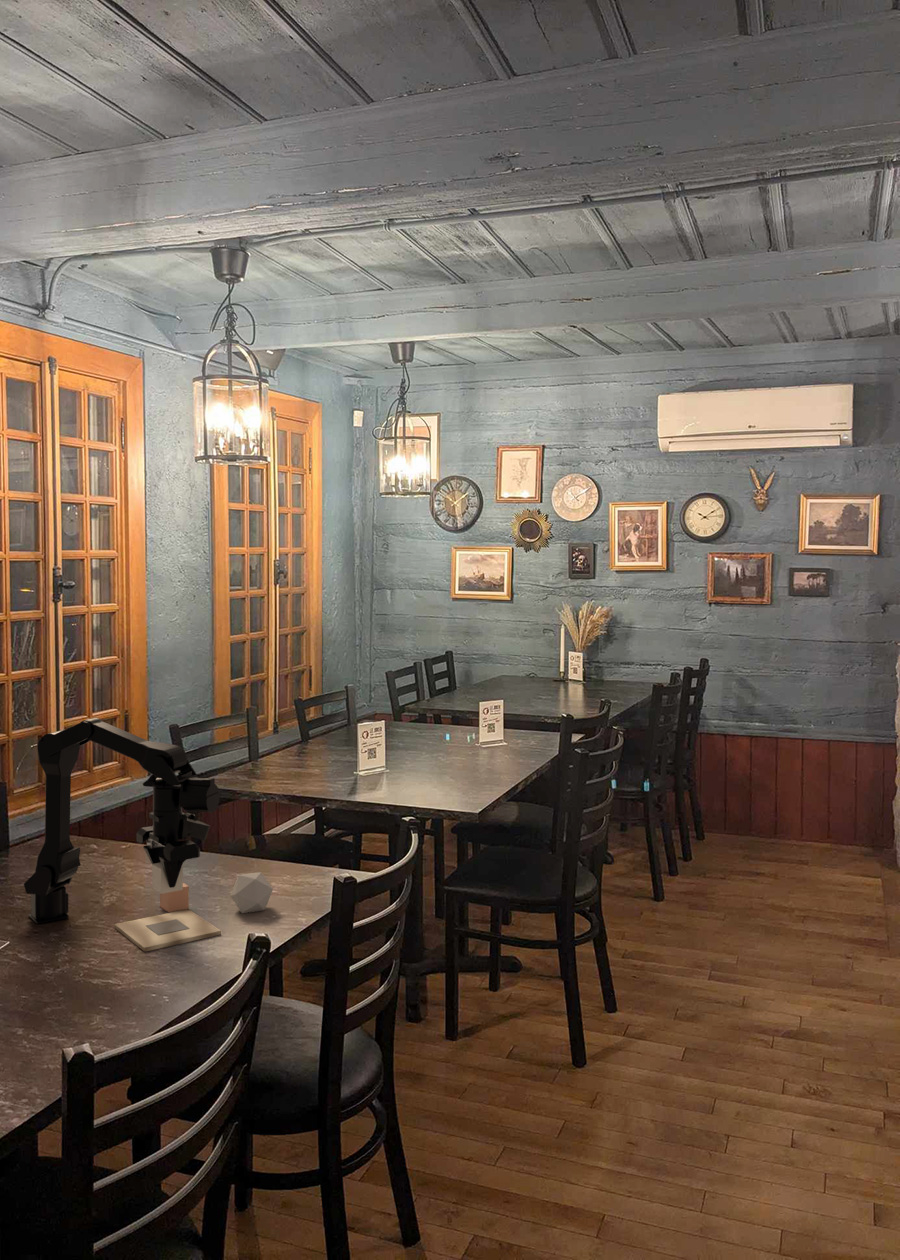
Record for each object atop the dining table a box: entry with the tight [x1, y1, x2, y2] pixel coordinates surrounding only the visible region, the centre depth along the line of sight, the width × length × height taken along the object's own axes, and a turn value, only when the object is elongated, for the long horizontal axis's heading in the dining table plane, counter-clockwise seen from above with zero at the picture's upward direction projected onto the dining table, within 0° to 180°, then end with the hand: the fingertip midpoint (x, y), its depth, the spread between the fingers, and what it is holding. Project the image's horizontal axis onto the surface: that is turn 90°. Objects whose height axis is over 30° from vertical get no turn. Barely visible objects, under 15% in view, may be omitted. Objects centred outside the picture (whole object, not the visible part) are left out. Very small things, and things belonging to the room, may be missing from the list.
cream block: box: [151, 862, 184, 894], centre depth 206 cm, size 5×5×5 cm
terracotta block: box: [159, 882, 190, 913], centre depth 221 cm, size 5×5×5 cm
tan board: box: [114, 908, 222, 952], centre depth 206 cm, size 16×16×1 cm
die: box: [229, 871, 274, 914], centre depth 220 cm, size 8×9×10 cm
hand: (167, 884), depth 206 cm, fingers closed on cream block, 5 cm apart
